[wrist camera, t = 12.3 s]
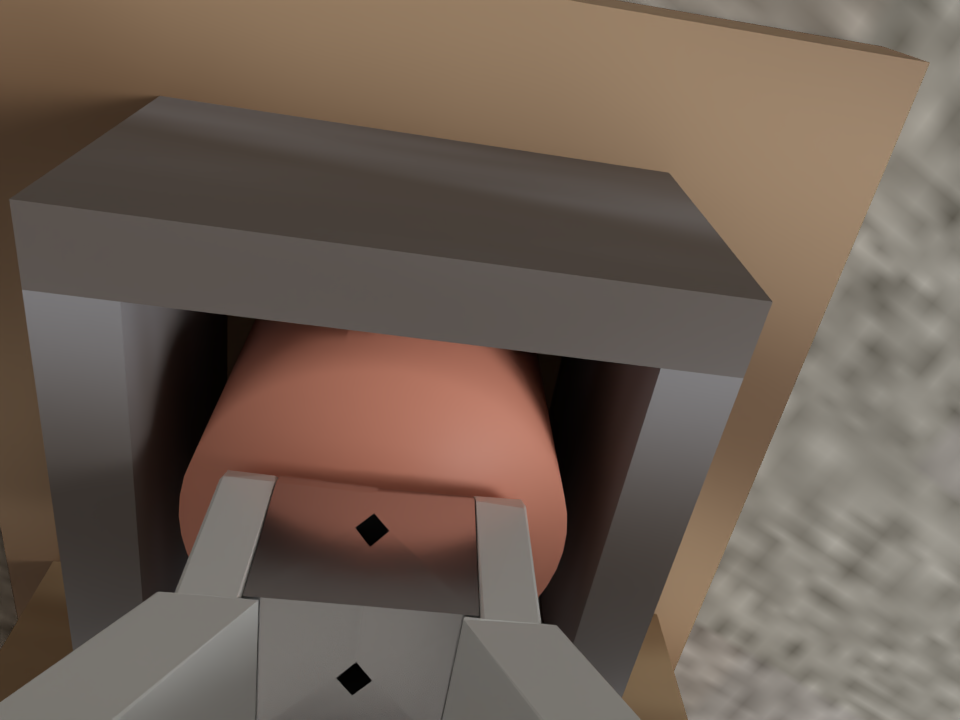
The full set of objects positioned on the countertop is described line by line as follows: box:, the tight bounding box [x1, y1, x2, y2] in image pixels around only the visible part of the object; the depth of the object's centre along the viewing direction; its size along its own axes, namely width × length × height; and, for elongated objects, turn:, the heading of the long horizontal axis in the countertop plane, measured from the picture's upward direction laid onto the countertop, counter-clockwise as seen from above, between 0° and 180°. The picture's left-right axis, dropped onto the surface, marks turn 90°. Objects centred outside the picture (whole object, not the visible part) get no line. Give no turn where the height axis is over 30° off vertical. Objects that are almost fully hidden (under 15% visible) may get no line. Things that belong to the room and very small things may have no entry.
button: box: [179, 319, 567, 597], centre depth 10 cm, size 4×4×3 cm
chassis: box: [0, 0, 929, 720], centre depth 13 cm, size 22×12×5 cm, turn 171°
